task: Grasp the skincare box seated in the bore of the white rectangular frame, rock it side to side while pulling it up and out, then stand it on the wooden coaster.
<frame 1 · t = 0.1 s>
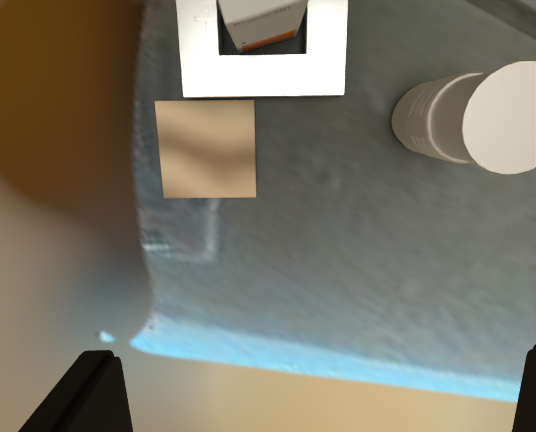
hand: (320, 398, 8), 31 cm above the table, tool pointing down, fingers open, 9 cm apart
white rectangular frame: (263, 23, 34), on the table
white ribbed canister: (419, 118, 36), on the table
wooden coaster: (208, 150, 37), on the table
skincare box: (263, 24, 34), resting in white rectangular frame
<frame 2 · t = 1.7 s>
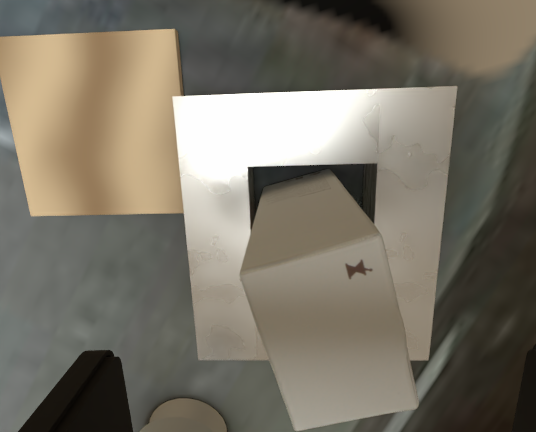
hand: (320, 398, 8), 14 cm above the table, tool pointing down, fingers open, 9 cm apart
white rectangular frame: (308, 223, 22), on the table
white ribbed canister: (188, 428, 27), on the table
wooden coaster: (102, 129, 21), on the table
skincare box: (307, 222, 22), resting in white rectangular frame
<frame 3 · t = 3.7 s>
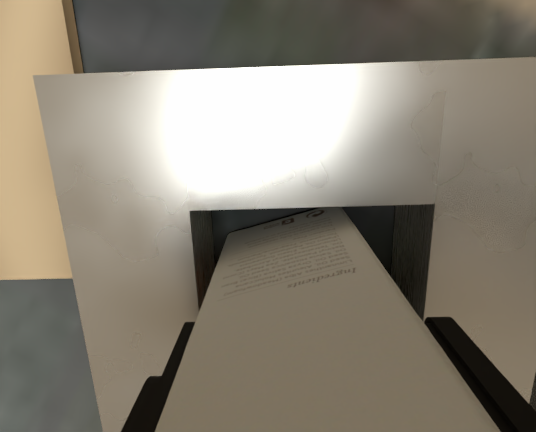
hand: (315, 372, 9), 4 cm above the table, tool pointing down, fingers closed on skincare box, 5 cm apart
white rectangular frame: (302, 290, 13), on the table
skincare box: (302, 287, 14), resting in white rectangular frame, touching gripper
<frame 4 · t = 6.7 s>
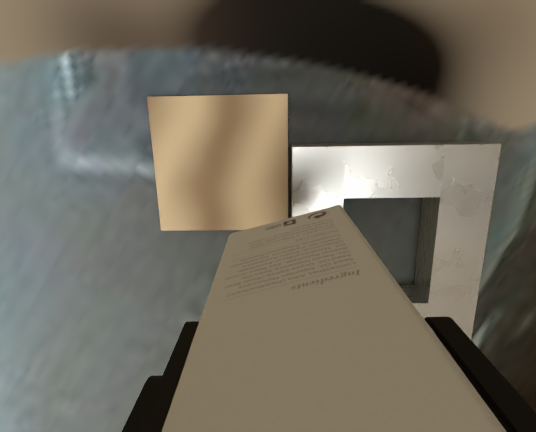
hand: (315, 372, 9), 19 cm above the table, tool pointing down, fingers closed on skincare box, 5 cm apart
white rectangular frame: (376, 238, 28), on the table
wooden coaster: (222, 165, 27), on the table
skincare box: (302, 288, 14), point 14 cm above the table, touching gripper
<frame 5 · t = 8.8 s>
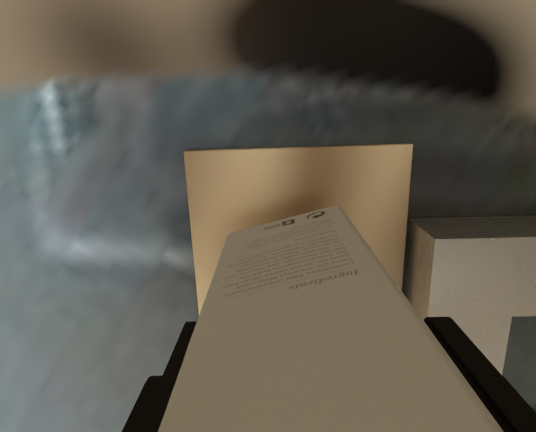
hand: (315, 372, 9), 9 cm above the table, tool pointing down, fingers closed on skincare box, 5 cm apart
white rectangular frame: (526, 351, 19), on the table
wooden coaster: (297, 250, 17), on the table
skincare box: (301, 288, 14), point 4 cm above the table, touching gripper
when the fingers open (6 cm above the table, at t = 10.1 s): skincare box stays where it is, resting on wooden coaster.
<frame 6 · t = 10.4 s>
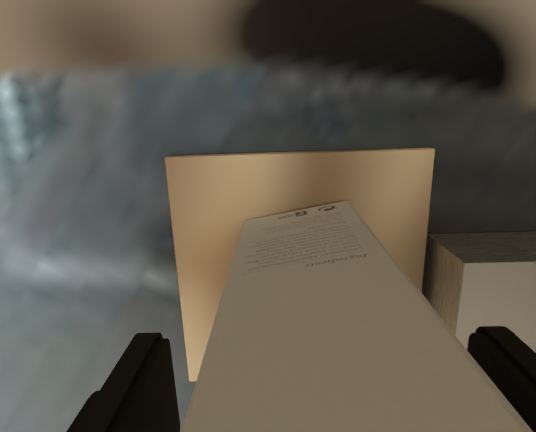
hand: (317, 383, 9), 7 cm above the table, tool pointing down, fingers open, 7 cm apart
wooden coaster: (298, 270, 15), on the table
skincare box: (307, 276, 15), resting on wooden coaster
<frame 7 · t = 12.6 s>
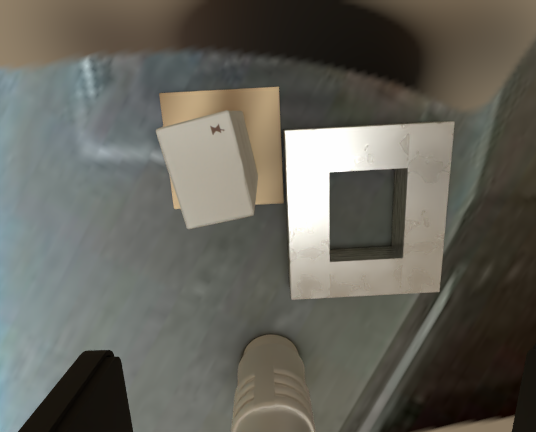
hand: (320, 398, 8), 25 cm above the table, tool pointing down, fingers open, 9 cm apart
white rectangular frame: (358, 207, 33), on the table
white ribbed canister: (270, 357, 38), on the table
wooden coaster: (224, 149, 31), on the table
skincare box: (228, 151, 31), resting on wooden coaster
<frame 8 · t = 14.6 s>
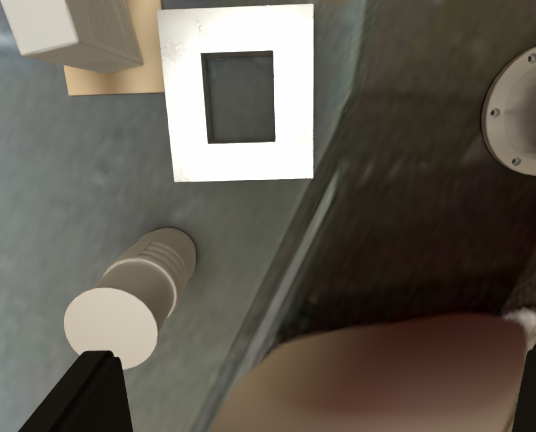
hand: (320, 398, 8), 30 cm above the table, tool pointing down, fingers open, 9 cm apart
white rectangular frame: (242, 100, 35), on the table
white ribbed canister: (170, 251, 40), on the table
wooden coaster: (114, 38, 34), on the table
skincare box: (115, 38, 34), resting on wooden coaster
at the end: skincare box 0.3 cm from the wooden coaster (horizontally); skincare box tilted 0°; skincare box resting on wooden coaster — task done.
